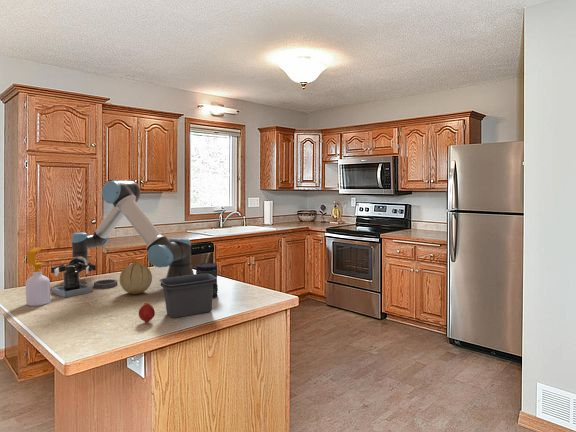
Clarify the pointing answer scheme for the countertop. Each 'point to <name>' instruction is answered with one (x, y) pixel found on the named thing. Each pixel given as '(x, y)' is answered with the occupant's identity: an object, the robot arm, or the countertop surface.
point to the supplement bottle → (71, 278)
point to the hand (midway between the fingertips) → (71, 272)
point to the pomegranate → (146, 312)
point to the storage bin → (188, 294)
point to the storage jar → (209, 269)
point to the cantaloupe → (135, 278)
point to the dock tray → (63, 293)
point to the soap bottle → (37, 283)
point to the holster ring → (105, 283)
